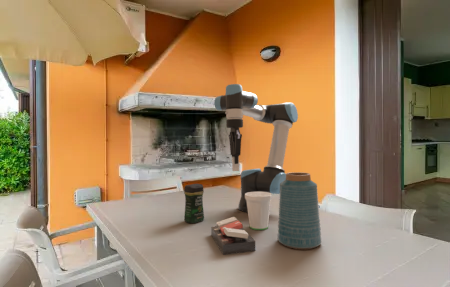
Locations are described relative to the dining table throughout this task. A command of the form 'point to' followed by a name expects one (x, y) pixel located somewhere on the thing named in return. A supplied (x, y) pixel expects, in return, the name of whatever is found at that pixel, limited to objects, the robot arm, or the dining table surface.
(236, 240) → the rocker switch panel
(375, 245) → the dining table surface
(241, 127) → the robot arm
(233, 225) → the rocker
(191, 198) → the coffee jar
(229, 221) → the rocker
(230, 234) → the rocker
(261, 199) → the cup
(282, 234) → the vase
